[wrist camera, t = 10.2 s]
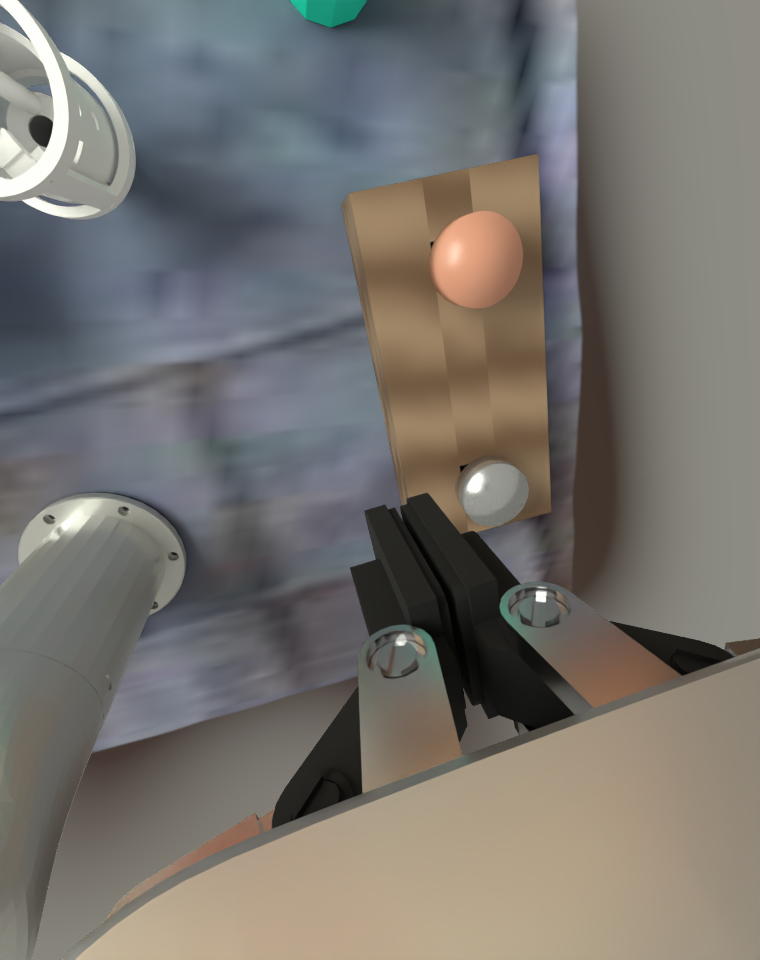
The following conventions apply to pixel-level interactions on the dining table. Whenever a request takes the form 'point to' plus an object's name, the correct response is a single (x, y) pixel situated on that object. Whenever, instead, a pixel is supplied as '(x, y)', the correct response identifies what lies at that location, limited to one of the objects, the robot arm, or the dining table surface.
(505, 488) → the silver oval piece
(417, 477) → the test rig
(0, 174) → the white cylindrical holder
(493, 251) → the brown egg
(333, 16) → the candle
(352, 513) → the dining table surface
